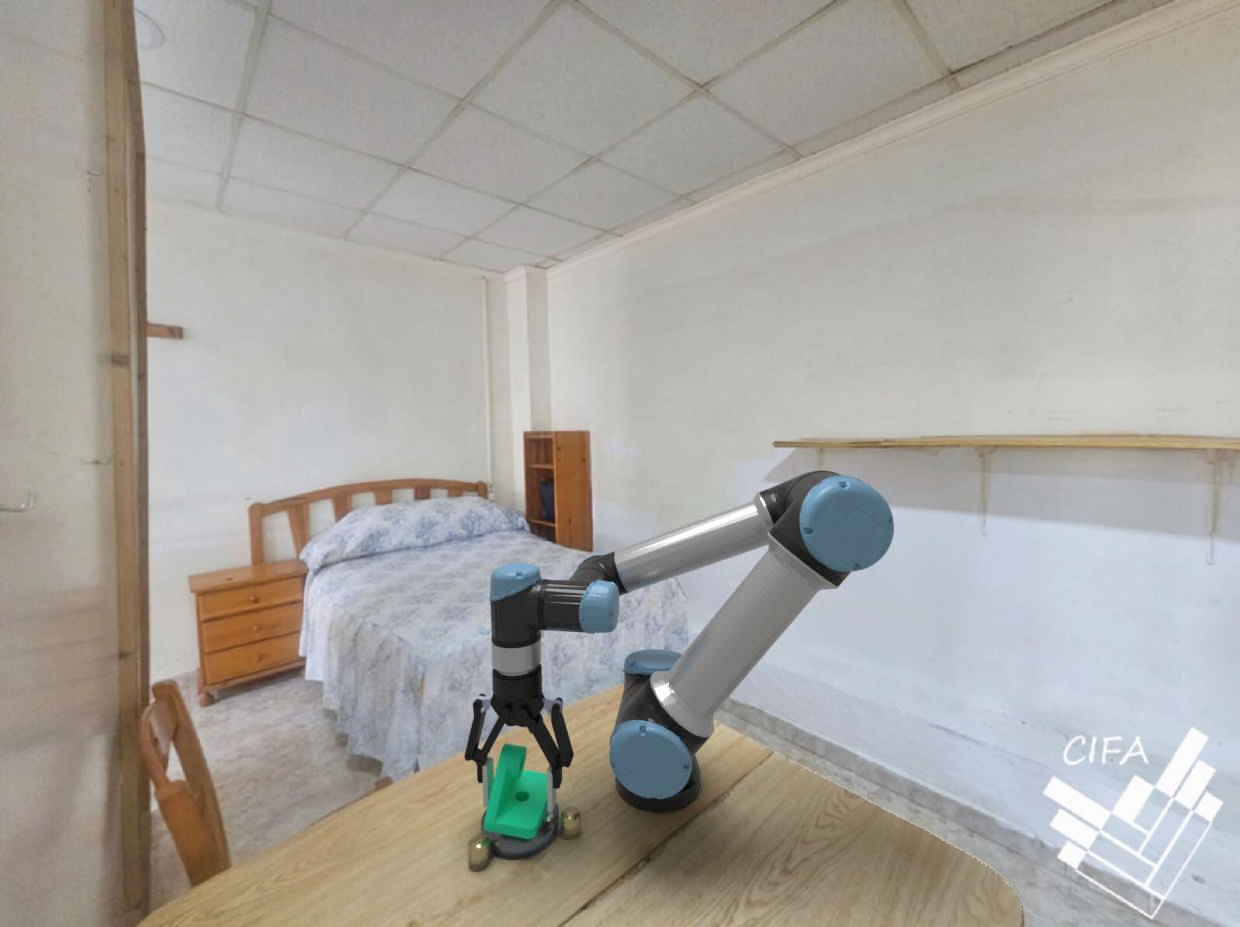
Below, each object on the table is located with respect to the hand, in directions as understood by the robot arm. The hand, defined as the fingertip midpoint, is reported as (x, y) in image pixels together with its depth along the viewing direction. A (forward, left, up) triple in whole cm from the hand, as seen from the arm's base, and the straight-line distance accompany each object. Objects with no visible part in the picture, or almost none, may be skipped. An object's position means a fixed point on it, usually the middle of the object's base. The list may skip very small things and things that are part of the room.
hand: (520, 803), depth 81 cm
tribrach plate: (-2, 0, -4) cm, 4 cm away
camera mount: (0, 0, -2) cm, 2 cm away
